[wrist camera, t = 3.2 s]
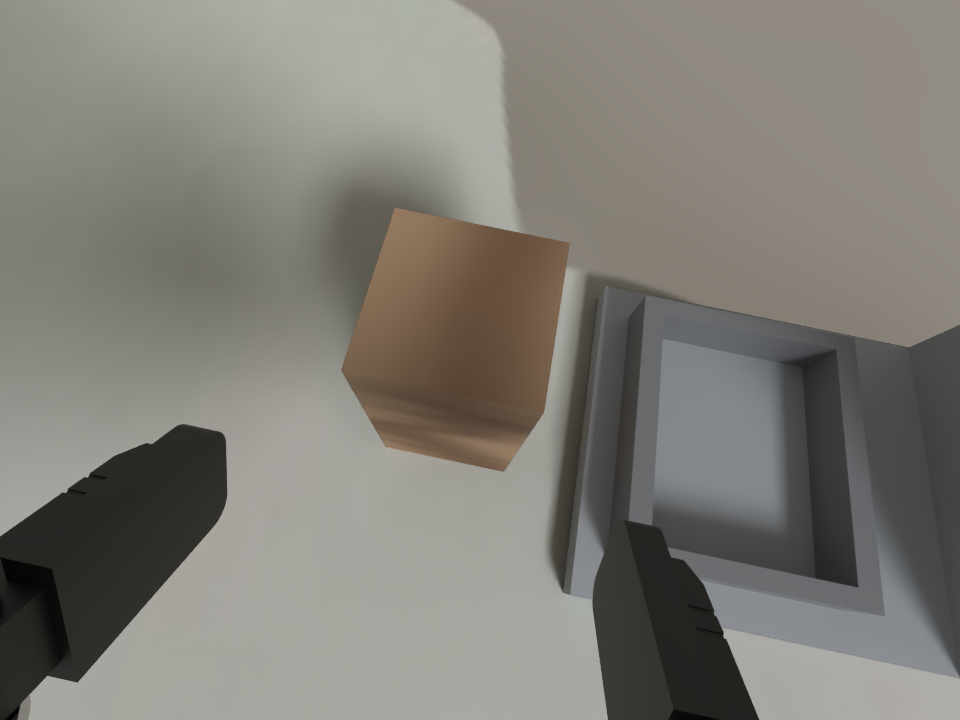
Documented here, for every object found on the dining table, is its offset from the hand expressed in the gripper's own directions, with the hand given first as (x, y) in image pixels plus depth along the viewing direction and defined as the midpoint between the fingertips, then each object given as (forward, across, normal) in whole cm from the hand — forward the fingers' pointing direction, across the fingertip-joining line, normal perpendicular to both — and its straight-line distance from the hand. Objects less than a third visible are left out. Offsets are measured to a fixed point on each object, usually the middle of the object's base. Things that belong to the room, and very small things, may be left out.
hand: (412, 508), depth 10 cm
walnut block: (+11, 0, +3) cm, 11 cm away
